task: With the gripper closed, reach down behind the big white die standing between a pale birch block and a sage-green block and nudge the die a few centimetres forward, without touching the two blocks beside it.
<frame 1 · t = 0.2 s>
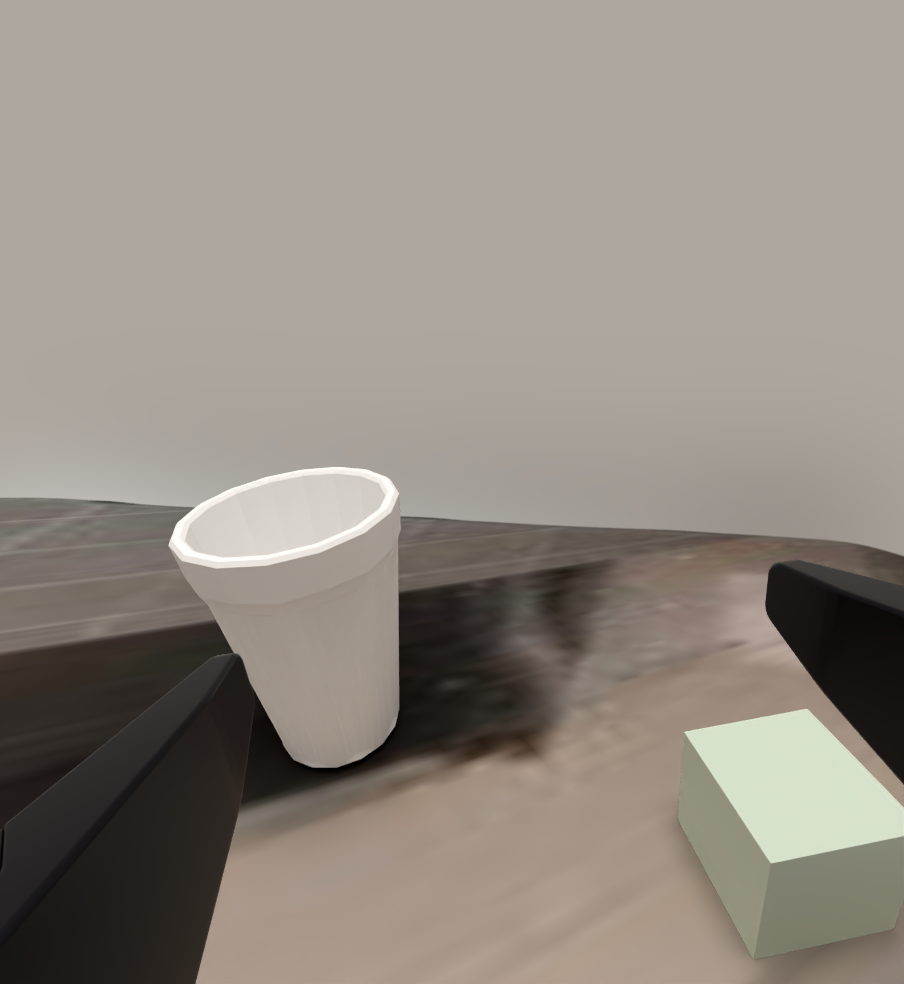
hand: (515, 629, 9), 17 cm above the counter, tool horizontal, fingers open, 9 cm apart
cup: (343, 726, 29), on the counter
sage block: (774, 870, 20), on the counter
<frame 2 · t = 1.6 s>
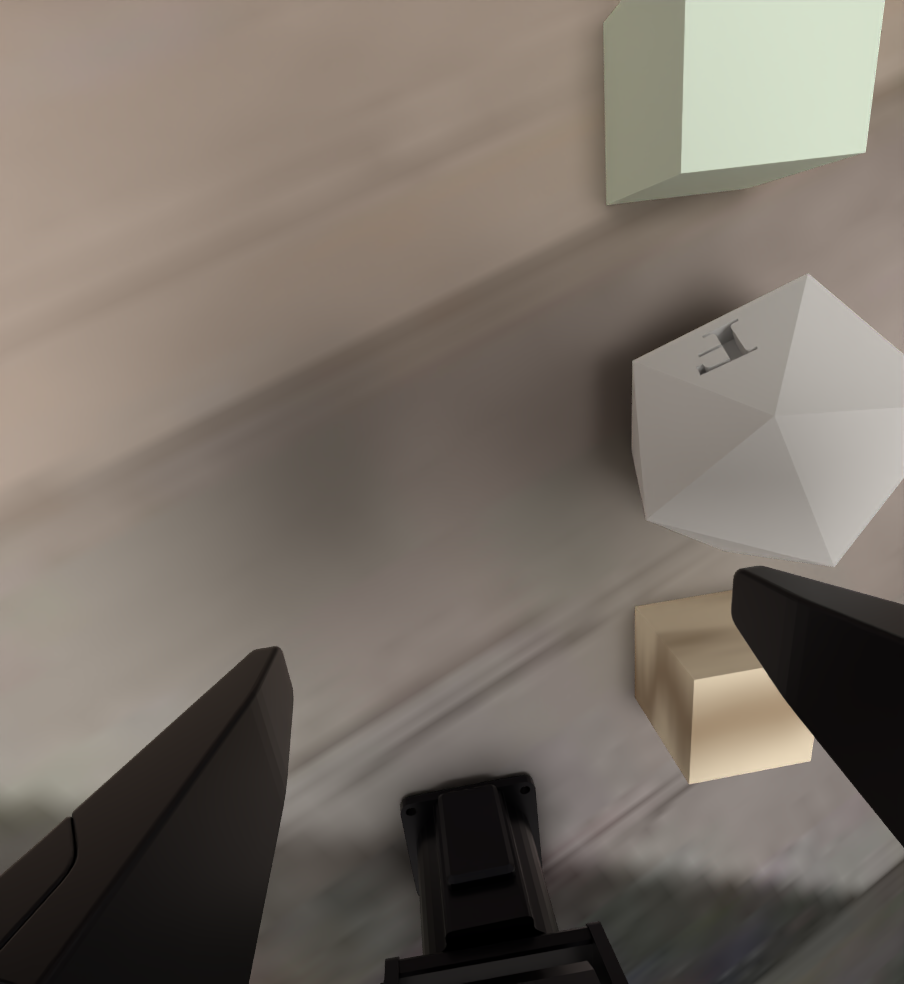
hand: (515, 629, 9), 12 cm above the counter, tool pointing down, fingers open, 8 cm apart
birch block: (686, 643, 25), on the counter
die: (693, 408, 21), on the counter
sage block: (677, 111, 18), on the counter
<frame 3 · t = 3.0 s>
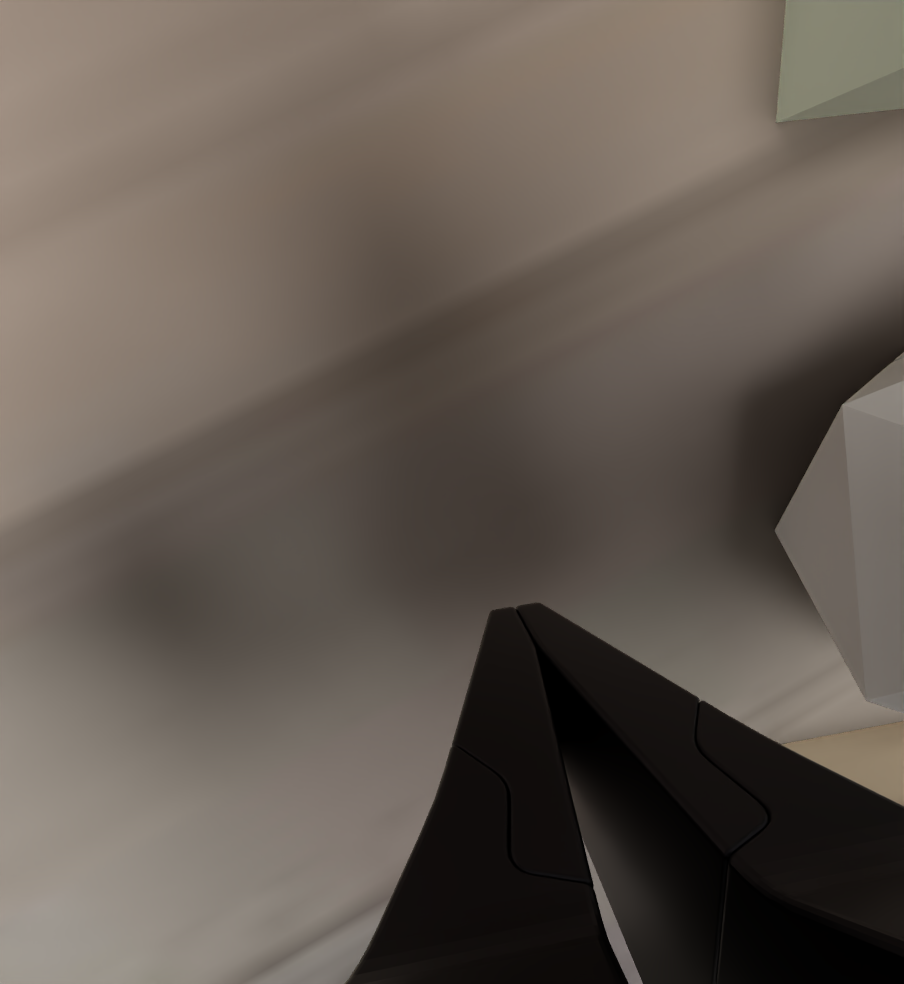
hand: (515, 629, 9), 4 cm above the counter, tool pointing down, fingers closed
birch block: (821, 792, 17), on the counter
die: (874, 465, 13), on the counter
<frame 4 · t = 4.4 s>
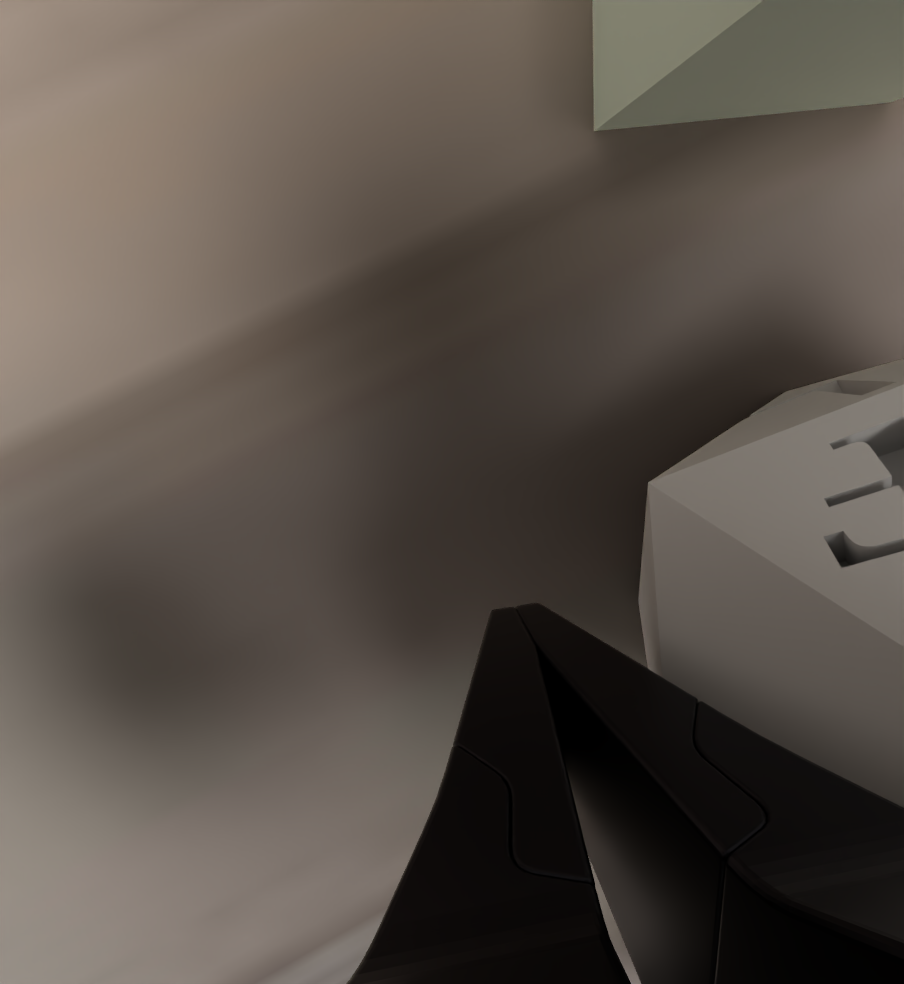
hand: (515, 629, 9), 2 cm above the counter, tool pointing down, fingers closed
die: (753, 526, 12), on the counter, touching gripper
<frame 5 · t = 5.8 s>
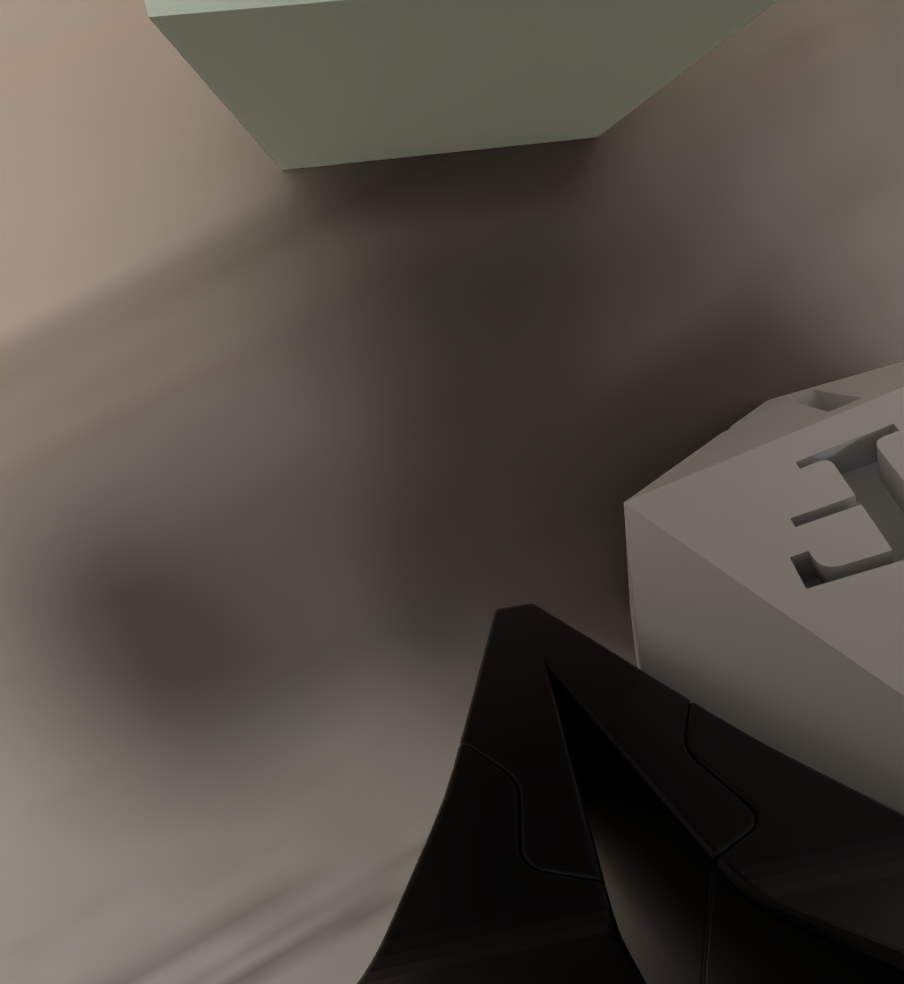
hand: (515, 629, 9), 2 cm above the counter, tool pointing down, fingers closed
die: (743, 533, 12), on the counter, touching gripper
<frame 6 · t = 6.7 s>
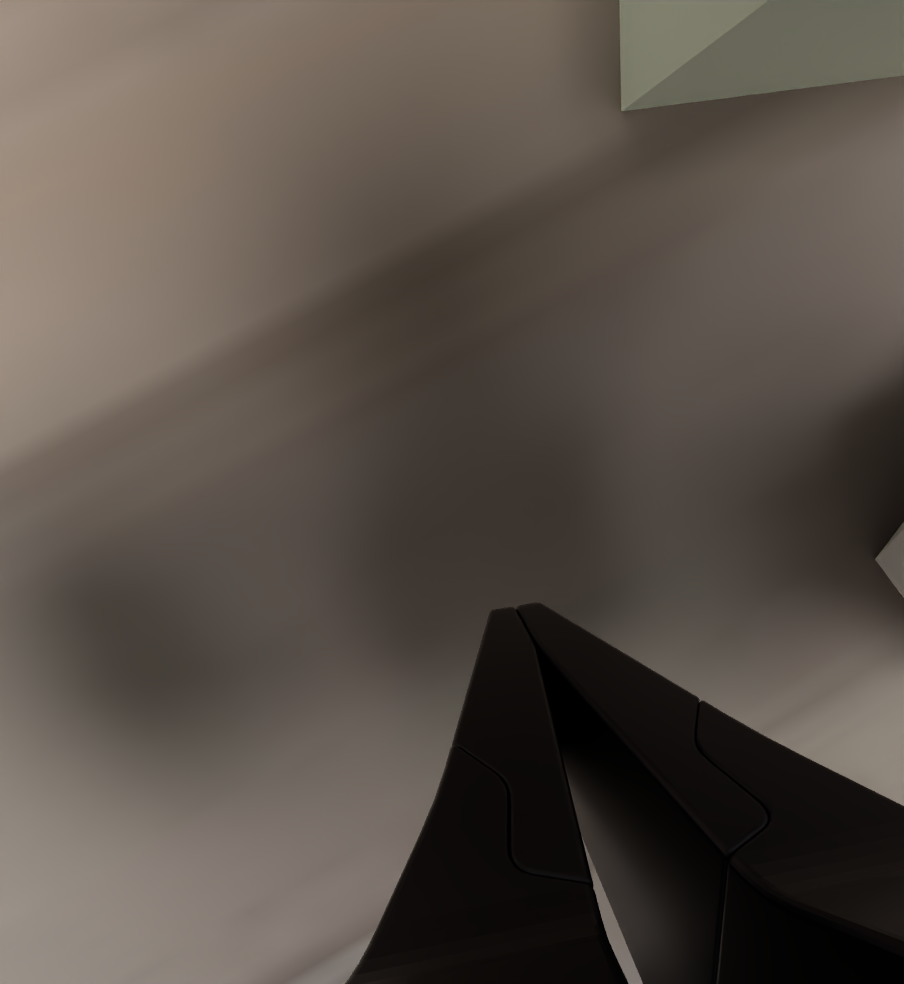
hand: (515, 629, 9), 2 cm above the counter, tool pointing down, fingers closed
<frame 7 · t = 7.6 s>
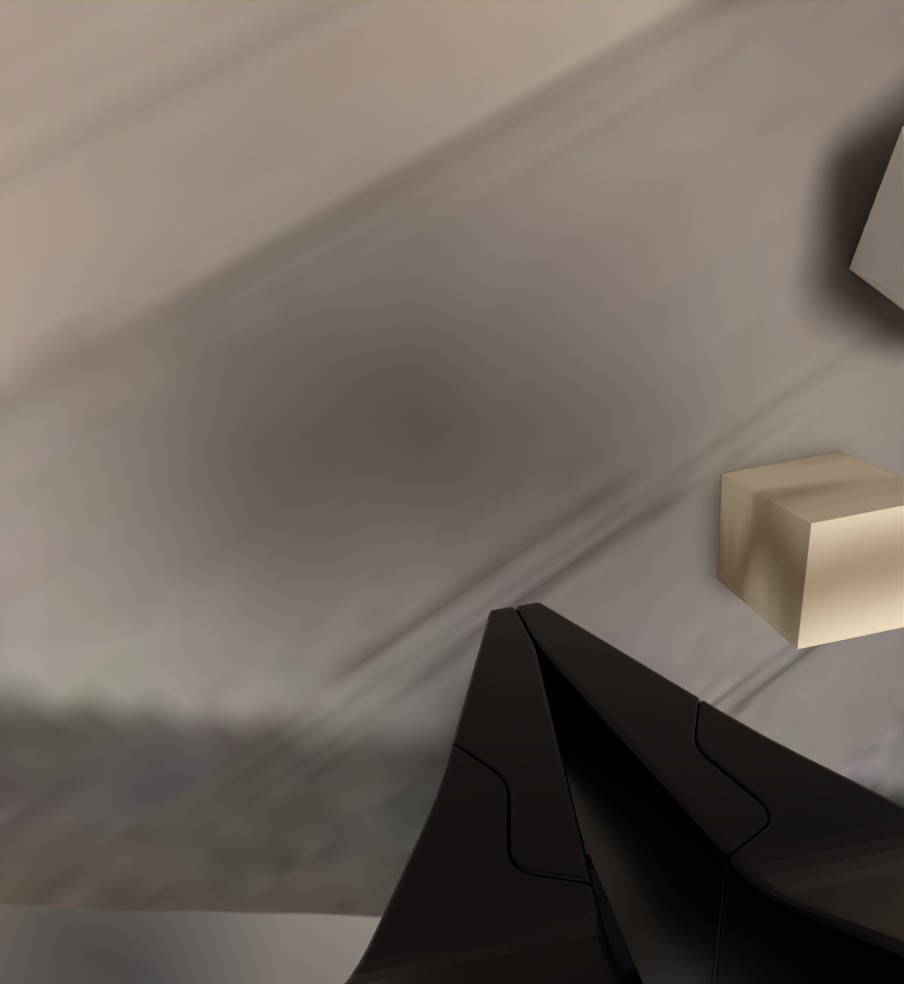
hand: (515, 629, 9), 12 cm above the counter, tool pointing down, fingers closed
birch block: (774, 516, 23), on the counter
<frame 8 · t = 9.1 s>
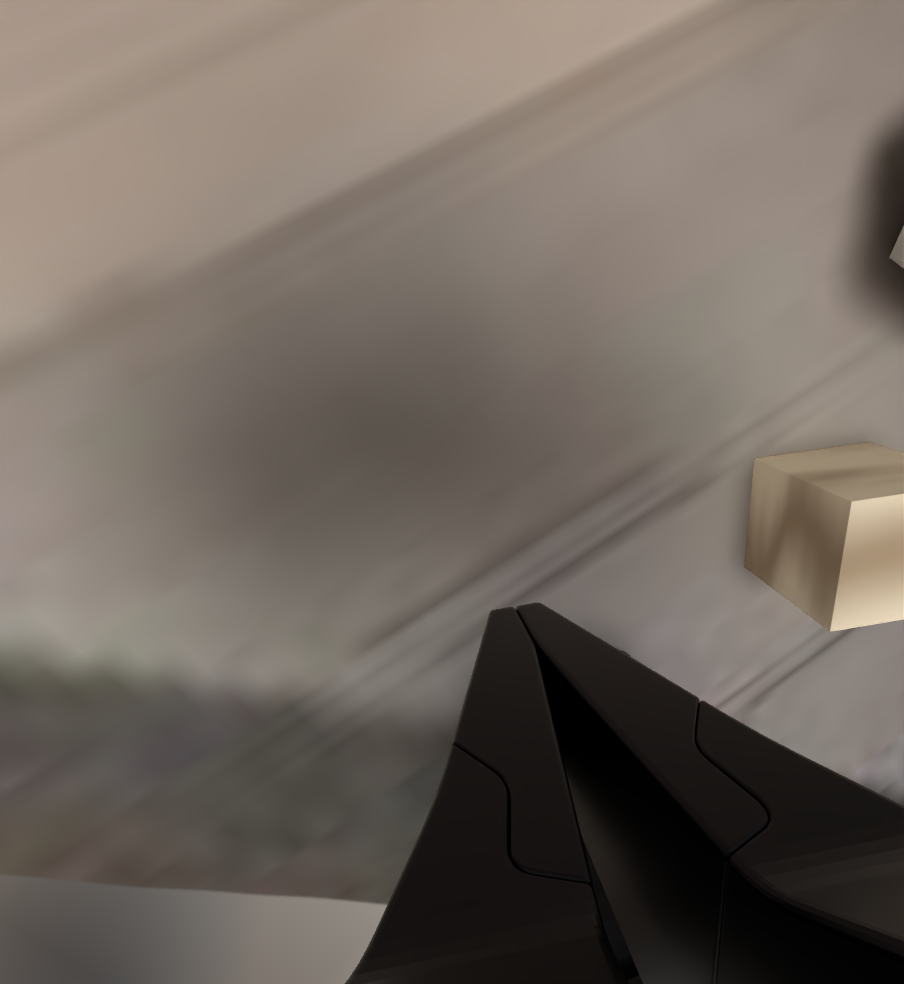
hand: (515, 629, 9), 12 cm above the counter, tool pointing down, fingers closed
birch block: (803, 505, 23), on the counter
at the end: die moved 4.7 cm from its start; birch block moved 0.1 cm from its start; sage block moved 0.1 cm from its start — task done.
